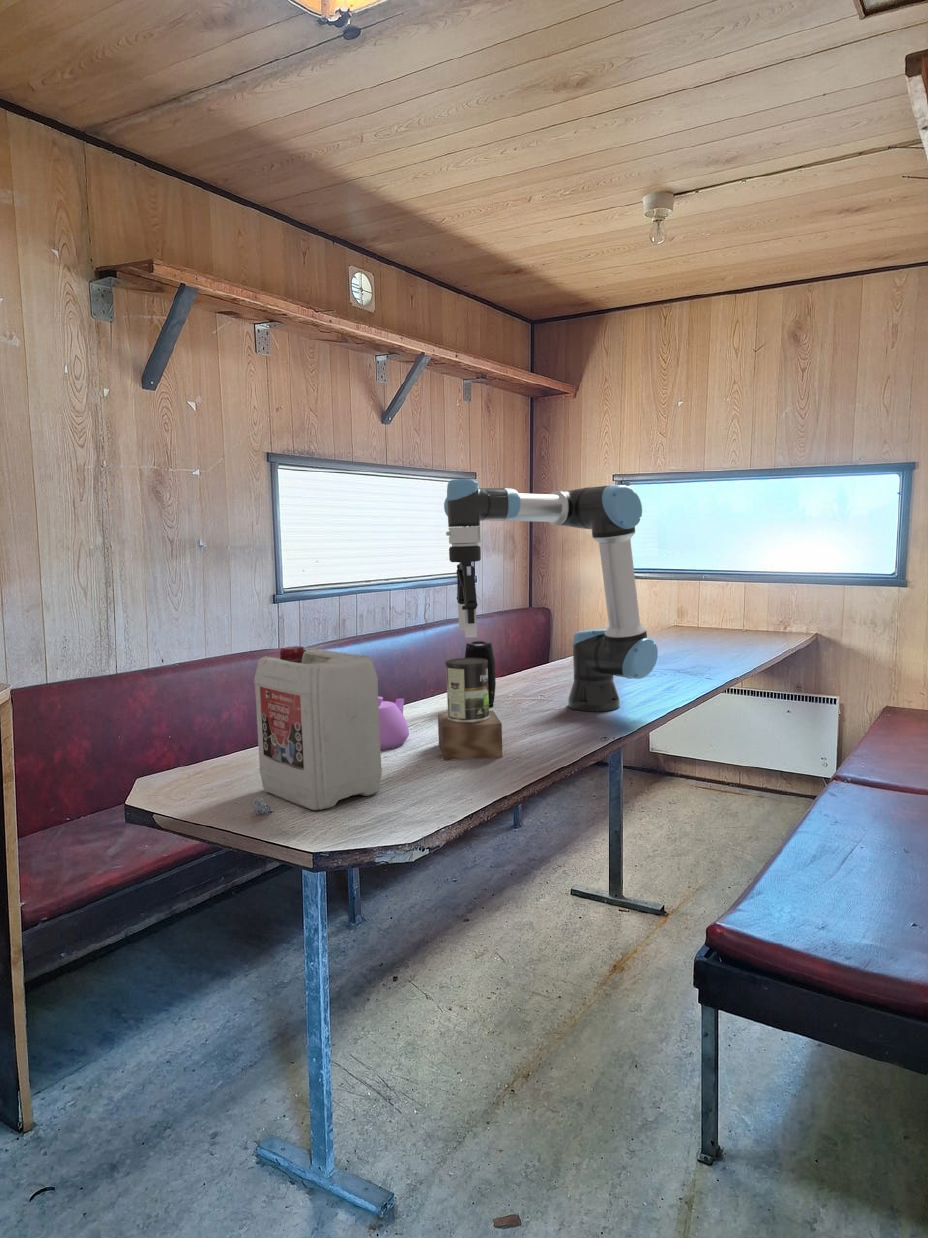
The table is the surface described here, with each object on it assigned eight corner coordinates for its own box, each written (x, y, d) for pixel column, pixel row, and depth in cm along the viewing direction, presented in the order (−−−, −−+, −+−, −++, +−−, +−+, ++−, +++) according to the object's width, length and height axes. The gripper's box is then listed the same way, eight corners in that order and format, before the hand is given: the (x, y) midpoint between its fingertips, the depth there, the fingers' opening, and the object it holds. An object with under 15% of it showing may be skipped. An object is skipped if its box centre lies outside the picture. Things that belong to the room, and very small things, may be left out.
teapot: (377, 758, 192) (375, 708, 191) (327, 750, 200) (324, 703, 198) (427, 736, 211) (426, 691, 209) (380, 730, 219) (378, 687, 217)
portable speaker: (501, 706, 243) (499, 642, 240) (474, 711, 238) (472, 645, 236) (486, 701, 250) (484, 639, 248) (460, 705, 245) (458, 642, 243)
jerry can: (252, 791, 169) (243, 651, 166) (325, 771, 182) (319, 640, 179) (316, 818, 152) (308, 662, 149) (392, 793, 165) (387, 649, 162)
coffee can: (492, 713, 199) (491, 657, 198) (485, 723, 189) (483, 664, 187) (452, 712, 201) (450, 657, 200) (442, 722, 191) (440, 664, 190)
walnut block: (493, 741, 203) (493, 710, 202) (502, 756, 189) (501, 723, 189) (438, 744, 202) (437, 713, 201) (443, 760, 188) (442, 726, 187)
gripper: (444, 544, 203) (447, 628, 205) (454, 546, 178) (457, 641, 181) (473, 543, 204) (476, 626, 206) (487, 545, 179) (490, 639, 181)
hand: (467, 633), depth 193 cm, fingers open, 13 cm apart
